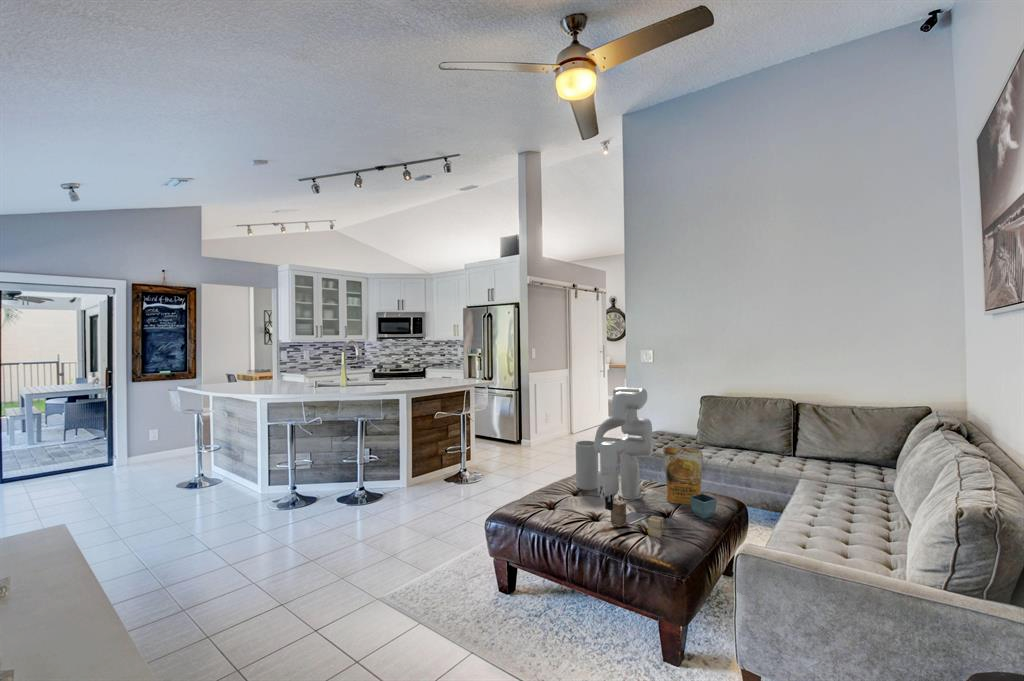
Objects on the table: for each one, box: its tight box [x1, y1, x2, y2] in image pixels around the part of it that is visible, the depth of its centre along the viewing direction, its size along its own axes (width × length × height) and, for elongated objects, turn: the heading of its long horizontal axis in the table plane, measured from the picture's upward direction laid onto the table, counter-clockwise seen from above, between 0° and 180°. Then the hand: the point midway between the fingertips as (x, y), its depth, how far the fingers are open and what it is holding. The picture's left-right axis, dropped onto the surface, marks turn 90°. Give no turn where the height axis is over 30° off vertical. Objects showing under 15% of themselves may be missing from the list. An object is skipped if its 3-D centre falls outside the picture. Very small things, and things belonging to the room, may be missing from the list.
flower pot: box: [690, 493, 718, 519], centre depth 230 cm, size 9×9×9 cm
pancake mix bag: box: [662, 446, 703, 506], centre depth 248 cm, size 7×19×28 cm, turn 69°
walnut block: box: [610, 499, 627, 528], centre depth 224 cm, size 5×5×10 cm
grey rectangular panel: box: [626, 510, 647, 525], centre depth 231 cm, size 12×9×1 cm
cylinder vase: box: [575, 440, 599, 491], centre depth 274 cm, size 12×12×25 cm
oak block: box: [647, 515, 664, 538], centre depth 213 cm, size 5×5×7 cm
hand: (609, 509), depth 220 cm, fingers closed
